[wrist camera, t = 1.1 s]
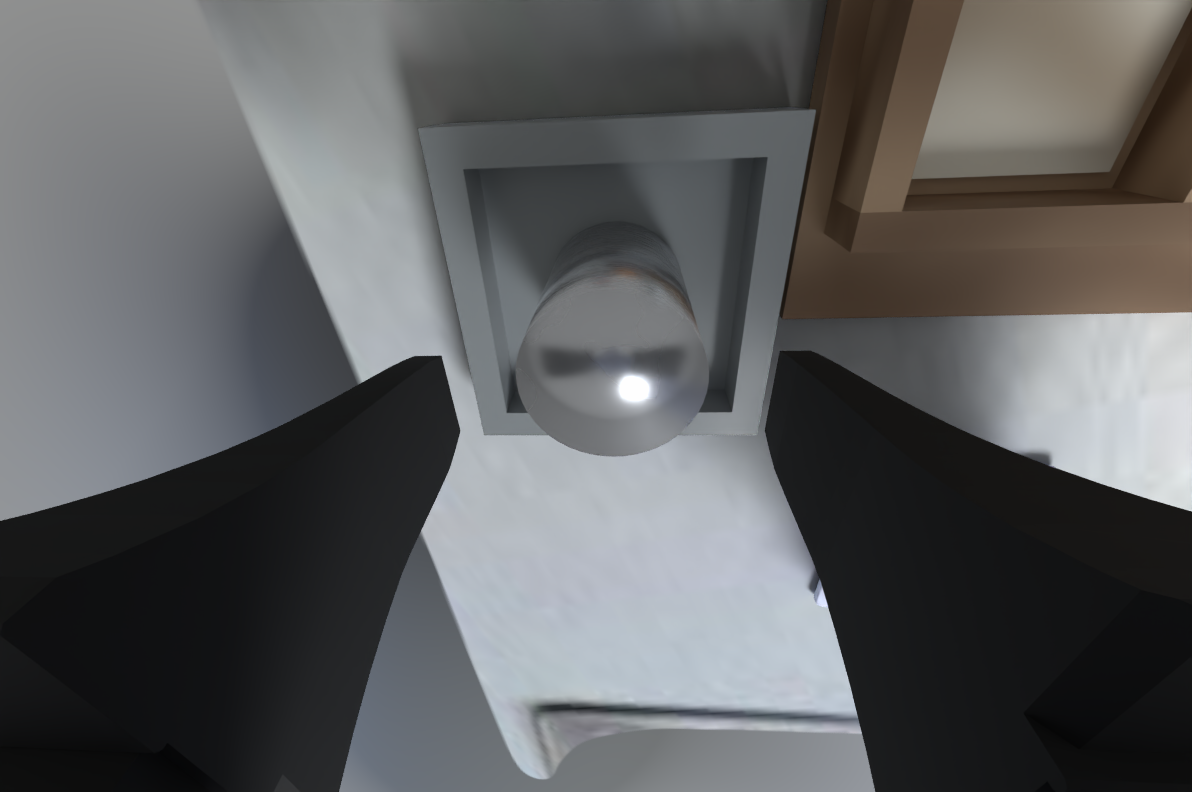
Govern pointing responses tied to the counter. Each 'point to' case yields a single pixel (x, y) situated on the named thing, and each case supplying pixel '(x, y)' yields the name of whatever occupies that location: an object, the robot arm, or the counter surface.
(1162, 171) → the wooden compartment tray
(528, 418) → the shallow grey tray
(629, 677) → the counter surface
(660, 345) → the billet
